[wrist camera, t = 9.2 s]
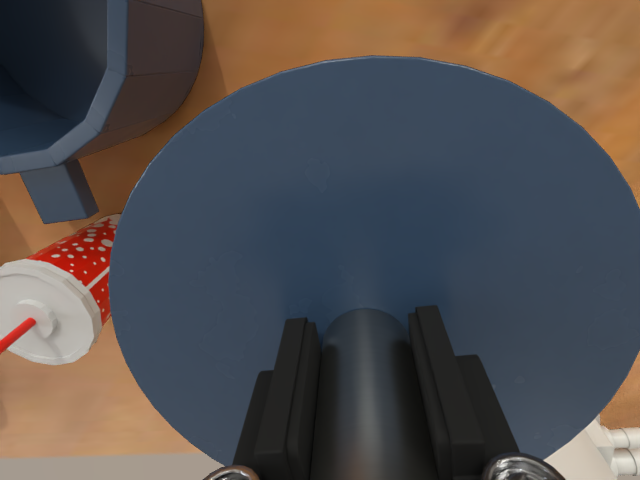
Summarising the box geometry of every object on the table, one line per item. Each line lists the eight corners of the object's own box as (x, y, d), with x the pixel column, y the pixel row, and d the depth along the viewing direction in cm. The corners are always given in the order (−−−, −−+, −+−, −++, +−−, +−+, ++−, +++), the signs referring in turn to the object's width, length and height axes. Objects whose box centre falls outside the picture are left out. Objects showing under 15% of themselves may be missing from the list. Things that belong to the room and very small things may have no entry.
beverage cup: (65, 223, 28) (-172, 360, 15) (134, 189, 27) (-65, 310, 14) (117, 291, 30) (-52, 461, 17) (183, 263, 29) (51, 427, 16)
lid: (678, -3, 8) (1369, -125, 3) (592, 467, 14) (748, 733, 9) (43, 110, 10) (-333, 177, 4) (204, 483, 16) (127, 709, 10)
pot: (139, -256, 18) (-27, -501, 10) (241, 162, 25) (193, 209, 18) (-118, -178, 19) (-428, -335, 12) (50, 191, 27) (-70, 244, 19)
